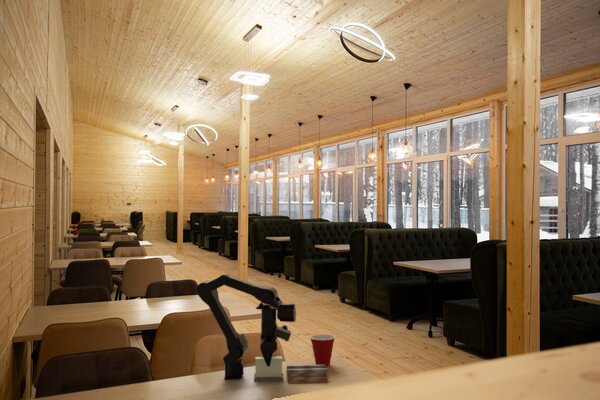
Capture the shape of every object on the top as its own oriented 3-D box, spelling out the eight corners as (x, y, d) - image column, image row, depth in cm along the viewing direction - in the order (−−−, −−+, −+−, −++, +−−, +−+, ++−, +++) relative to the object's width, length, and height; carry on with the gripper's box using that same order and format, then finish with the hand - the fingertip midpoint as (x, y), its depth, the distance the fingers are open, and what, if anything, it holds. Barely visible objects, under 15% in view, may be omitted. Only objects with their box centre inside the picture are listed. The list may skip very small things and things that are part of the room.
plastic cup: (328, 359, 195) (328, 331, 196) (340, 367, 185) (340, 337, 186) (305, 362, 191) (305, 333, 192) (316, 370, 181) (316, 340, 182)
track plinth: (287, 382, 167) (287, 372, 167) (286, 373, 177) (286, 363, 177) (327, 381, 168) (327, 371, 168) (324, 372, 178) (324, 362, 178)
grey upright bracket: (253, 381, 168) (253, 378, 169) (254, 376, 174) (254, 373, 174) (283, 380, 169) (283, 377, 169) (282, 375, 175) (282, 372, 175)
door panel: (255, 380, 170) (255, 358, 170) (255, 378, 172) (255, 356, 173) (281, 379, 171) (281, 358, 171) (281, 377, 173) (281, 356, 173)
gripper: (291, 326, 164) (290, 370, 163) (288, 315, 182) (288, 354, 182) (260, 326, 163) (259, 370, 162) (261, 315, 182) (260, 355, 181)
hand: (268, 362), depth 172 cm, fingers open, 9 cm apart
